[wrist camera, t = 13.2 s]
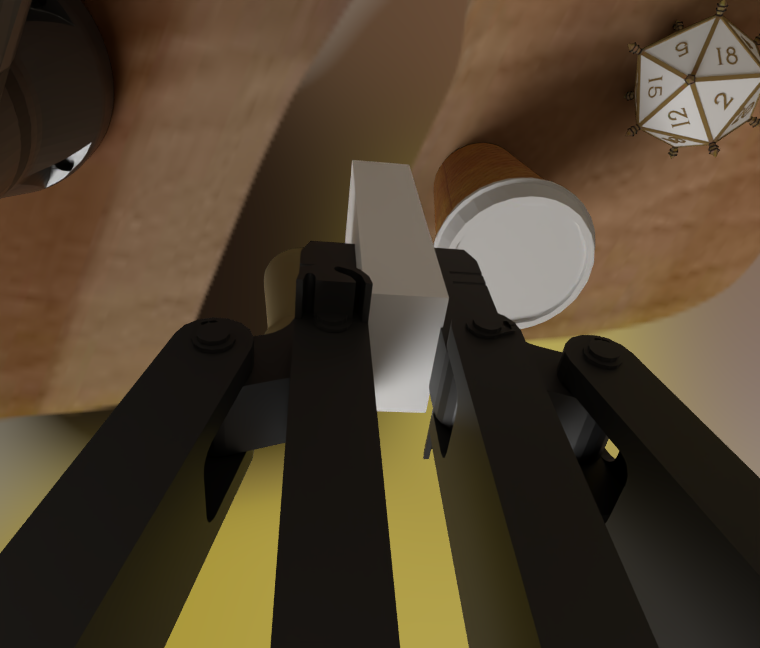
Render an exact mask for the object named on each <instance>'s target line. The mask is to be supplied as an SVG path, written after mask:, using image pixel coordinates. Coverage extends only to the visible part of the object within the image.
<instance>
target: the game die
mask: <svg viewBox="0 0 760 648" xmlns="http://www.w3.org/2000/svg"><path fill="white" fill-rule="evenodd" d="M717 6H718V7H717V8H716V11H717V13H716V15H713V16H711V17H709V18H707V19H704V20H702V21H700V22H697V23H695V24H693V25H690V26H688V27H686V28H683V25H682V24H683V22H680V21H678V20H676V22H675V25H674V26H673V27H674V28H675V29H674V30H675V31H677V32H675V33H673V34H671V35H669V36H667V37H665V38H663V39H661V40H659V41H657V42H655V43H653V44H651V45H649V46H647V47H645V48H643V49H641V48H640V47H639V45H637V44H636V43H634V44H628V47H629V50H630V51H629V52H633V54H634V53H636V54H638V61H637V71H636V80H635V90H634V92H632V91H631V92H627V94H626V95H625V96H624V98H625V99H627V101H628V100H632V99H634V102H635V115H636V126H632V127H631V128H629V129H628V131H627V133H626V136H634V134H635V133H636V134H637V131H638V130H642V131H644V132H646V133H648V134H650V135H652V136H654V137H655V138H657V139H659V140H661V141H663V142H665V143H667V144H669V145H671V146H672V148H671V149H670V152H669V153H668V154H669V155H670V157H671V159H672V158H673V157H675V156H677V152H678V149H677V148H678V147H691V146H705V145H709V146H710V147H709V151H710V152H709V154H711V155H713V156H715V157H716V156H717V154H718V152H719V151H720V149H718V147H719V146H717V145H716V142H718V141H719V140H721V139H722V138H724V137H725V136H726V135H728V134H729V133H731V132H732V131H734V130H735V129H737V128H738V127H740V126H741V125H743V124H744V123H746V122H749V124H750V125H752V126H753V127H756V126H760V119H757V117H752V114H753V112H754V109H755V107H756V104H757V102H758V100H759V97H760V52H759V50H758V47H757V45H760V34H759V36H758V37H756V38H755V40H754V41H753V40H752V39H751V38H749V37H748V36H747V35H746V34H745V33H743V32H742V31H741V30H740V29H738V28H737V27H736V26H735V25H734V24H732V23H731V22H730V21H729V20H728V19H726V18H725V17H724V16H723V13H724V12H725V11H726V10H727V9H726V7H727V6H728V5H727V2H726V0H722V1H721V2H720V3H717Z"/></svg>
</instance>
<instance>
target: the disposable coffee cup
mask: <svg viewBox="0 0 760 648" xmlns="http://www.w3.org/2000/svg"><path fill="white" fill-rule="evenodd" d="M434 204H435V229H436V239H435V242H434V245H433V246H434V248H447V249H462V250H465V251H466V252H467V253H468V254H469V255H471V256H472V257H473V258H474V259H475V260H476V261H477V263H478V265H479V268H480V270H481V272H482V276H483V277H484V280H485V282H486V286H487V287H488V290H489V292H490V295H491V297H492V300H493V302H494V305H495V307H496V310H497V312H498V313H499V314H501V315H504V316H506V317H507V318H509V319H510V320H512V321H513V322H515V323H516V325H517V326H518V327H519V329H523V328H527V327H531V326H534V325H537V324H539V323H542V322H545V321H547V320H548V319H550V318H552V317H553V316H555V315H557V314H559V313H560V312H562V311H563V310H564V309H565V308H566V307H567V306H568V305H569V304H570V303H572V302H573V301H574V300H575V299H576V298H577V296H578V295H579V293H580V292H581V290H582V289H583V287H584V286H585V284H586V283H587V281H588V278H589V275H590V272H591V269H592V266H593V263H594V250H595V229H594V226H593V222H592V219H591V216H590V214H589V213H588V211H587V209H586V207H585V206H584V204H583V203H582V202H581V201H580V200H579V199H578V198H577V197H576V196H575V195H574V194H573V193H571V192H570V191H568V190H567V189H566V188H564V187H562V186H560V185H558V184H556V183H554V182H552V181H547V180H544V179H542V178H541V177H540V176H538V175H537V174H536V173H535V172H533V171H532V170H531V169H529V168H528V167H527V166H525V165H524V164H523V163H521V162H520V161H519V160H518V159H516V158H515V157H514V156H512V155H511V154H510V153H509V152H508V151H506V150H505V149H503V148H502V147H499V146H497V145H494V144H489V143H475V144H471V145H467V146H465V147H463V148H460V149H458V150H457V151H455V152H454V153H452V154H451V155H450V156H449V157H448V158H447V159H446V160H445V161H444V162H443V164H442V165H441V167H440V168H439V170H438V172H437V174H436V178H435V182H434Z"/></svg>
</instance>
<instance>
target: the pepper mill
mask: <svg viewBox="0 0 760 648" xmlns="http://www.w3.org/2000/svg"><path fill="white" fill-rule="evenodd" d="M303 248H304V247H303ZM303 248H294V249H289V250H287V251H284V252H282V253H280V254H278V255H277V256H276V257H275V258H274V259H273V260H271V262H270V263H269V265H268V267H267V269H266V271H265V277H264V289H265V300H266V310H267V322H268V329H267V331H266V332H265V334H269V333H273V332H276V331H278V330H281V329H283V328H284V327H286V326H287V325H289V324H290V323H291V321H292V320H293V319H294V317H295V297H296V279H297V276H298V274H299V267H300V254H301V250H302V249H303ZM265 334H264V335H265Z"/></svg>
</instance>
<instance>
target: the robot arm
mask: <svg viewBox="0 0 760 648" xmlns="http://www.w3.org/2000/svg"><path fill="white" fill-rule="evenodd" d="M113 101H114V84H113V75H112V69H111V64H110V60H109V56H108V53H107V50H106V47H105V44H104V41H103V39H102V37H101V34H100V32H99V30H98V28H97V26H96V24H95V22H94V20H93V18H92V17H91V15H90V13H89V12H88V10H87V9H86V7H85V6H84V4H83V3H82V1H81V0H0V198H5V197H10V196H15V195H21V194H26V193H31V192H35V191H39V190H42V189H45V188H48V187H50V186H53V185H55V184H57V183H59V182H60V181H62V180H64V179H66V178H67V177H69V176H70V175H71V174H73V173H74V172H75V171H76V170H77V169H78V168H80V167H81V166H82V165H83V163H84V162H85V161H86V160H87V159H88V158H89V157H90V156H91V155H92V154H93V152H94V151H95V150H96V149H97V147H98V146H99V144H100V143H101V141H102V139H103V138H104V136H105V133H106V131H107V129H108V126H109V123H110V119H111V115H112V110H113ZM429 394H430V396H431V401H432V405H433V411H432V416H431V421H430V425H429V430H428V435H427V439H426V444H425V449H424V457H423V458H424V459H429V456H430V451H431V449H433V454H434V460H435V465H436V470H437V476H438V481H439V487H440V492H441V498H442V503H443V509H444V514H445V519H446V525H447V530H448V536H449V541H450V547H451V552H452V557H453V563H454V568H455V574H456V579H457V585H458V590H459V595H460V601H461V606H462V612H463V617H464V622H465V628H466V633H467V639H468V644H469V648H760V478H759V477H758V476H757V475H756V474H755V473H754V472H753V471H752V470H751V469H750V468H749V467H748V466H747V465H746V464H745V463H744V462H743V461H742V460H741V459H740V458H739V457H738V456H737V455H736V454H735V453H733V451H732V450H730V449H729V448H728V447H727V446H726V445H725V444H724V443H723V442H722V441H721V440H720V439H719V438H718V437H717V436H716V435H715V434H714V433H713V432H712V431H711V430H710V429H709V428H708V427H707V426H706V425H705V424H704V423H703V422H702V421H701V420H700V419H699V418H698V417H697V416H696V415H695V414H694V413H693V412H692V411H691V410H690V409H689V408H688V407H687V406H686V405H684V403H683V402H681V400H679V398H678V397H677V396H675V395H674V394H673V393H672V392H671V391H670V390H669V389H668V388H667V387H666V386H665V385H664V384H663V383H662V382H661V381H660V380H659V379H658V378H657V377H656V376H655V375H654V374H653V373H652V372H651V371H650V370H649V369H648V368H647V367H646V366H645V365H644V364H642V362H641V361H640V360H639V359H638V358H637V357H636V356H635V355H634V354H633V353H632V352H630V351H629V350H628V349H626V348H625V347H624V346H622V345H621V344H618V343H616V342H614V341H612V340H610V339H608V338H605V337H600V336H595V335H580V336H576V337H573V338H571V339H570V340H569V341H568V342H567V343H566V344H565V347H564V349H563V352H558V351H554V350H550V349H546V348H543V347H539V346H536V345H533V344H529V343H527V342H526V341H525V339H524V337H523V334H522V332H521V330H520V329H519V327H518V326H517V325H516V323H515V322H513V321H512V320H510V319H509V318H507V317H506V316H504V315H501V314H499V313H498V312H497V310H496V307H495V305H494V302H493V300H492V297H491V295H490V292H489V290H488V287H487V286H486V282H485V280H484V277H483V276H482V272H481V270H480V268H479V265H478V263H477V261H476V260H475V259H474V258H473V257H472V256H471V255H469V254H468V253H467V252H466V251H465V250H462V249H447V248H434V246H433V243H432V239H431V236H430V233H429V229H428V226H427V223H426V219H425V216H424V213H423V209H422V206H421V203H420V199H419V196H418V193H417V189H416V186H415V183H414V179H413V176H412V172H411V169H410V166H409V165H406V164H394V163H382V162H370V161H358V160H352V171H351V182H350V194H349V205H348V216H347V228H346V238H345V243H334V242H318V241H310V242H309V243H308V244H307V245H306V246H305V247H304V248H303V249H302V250H301V254H300V267H299V274H298V276H297V279H296V297H295V317H294V319H293V320H292V321H291V323H290V324H289V325H287V326H286V327H284V328H283V329H281V330H278V331H276V332H273V333H269V334H265V335H259V336H253V335H252V333H251V331H250V329H248V328H247V327H246V326H244V325H243V324H242V323H240V322H237V321H234V320H230V319H226V318H207V319H199V320H196V321H193V322H191V323H188V324H186V325H184V326H183V327H182V328H180V329H179V330H178V331H177V332H176V333H175V334H174V335H173V336H172V338H171V339H170V340H169V341H168V343H167V344H166V345H165V346H164V348H163V349H162V350H161V352H160V353H159V354H158V355H157V357H156V358H155V359H154V360H153V362H152V363H151V364H150V365H149V367H148V368H147V369H146V370H145V372H144V373H143V374H142V375H141V377H140V378H139V379H138V380H137V382H136V383H135V384H134V386H133V387H132V388H131V389H130V391H129V392H128V393H127V394H126V396H125V397H124V398H123V399H122V401H121V402H120V403H119V404H118V406H117V407H116V408H115V409H114V411H113V412H112V413H111V415H110V416H109V417H108V418H107V420H106V421H105V422H104V423H103V425H102V426H101V427H100V428H99V430H98V431H97V432H96V433H95V435H94V436H93V437H92V438H91V440H90V441H89V442H88V443H87V445H86V446H85V447H84V448H83V450H82V451H81V453H80V454H79V455H78V456H77V457H76V459H75V460H74V461H73V462H72V464H71V465H70V466H69V467H68V469H67V470H66V471H65V472H64V474H63V475H62V476H61V477H60V479H59V480H58V481H57V483H56V484H55V485H54V486H53V488H52V489H51V490H50V491H49V493H48V494H47V495H46V496H45V498H44V499H43V500H42V501H41V503H40V504H39V505H38V506H37V508H36V509H35V510H34V511H33V513H32V514H31V515H30V517H29V518H28V519H27V520H26V522H25V523H24V524H23V525H22V527H21V528H20V529H19V530H18V532H17V533H16V534H15V535H14V537H13V538H12V539H11V541H10V542H9V543H8V544H7V545H6V547H5V548H4V549H3V551H2V552H1V553H0V648H164V647H165V645H166V642H167V640H168V638H169V636H170V634H171V632H172V630H173V628H174V626H175V623H176V621H177V619H178V617H179V615H180V613H181V611H182V608H183V606H184V604H185V602H186V600H187V598H188V596H189V593H190V591H191V589H192V587H193V585H194V583H195V580H196V578H197V576H198V574H199V572H200V570H201V568H202V565H203V563H204V561H205V559H206V557H207V555H208V553H209V550H210V548H211V546H212V544H213V542H214V540H215V538H216V535H217V533H218V531H219V529H220V527H221V525H222V523H223V520H224V519H225V516H226V514H227V512H228V510H229V508H230V506H231V503H232V501H233V499H234V497H235V495H236V493H237V491H238V488H239V486H240V484H241V482H242V480H243V478H244V476H245V474H246V471H247V469H248V467H249V465H250V463H251V461H252V458H253V452H254V449H259V448H263V447H268V446H272V445H277V444H281V443H285V442H286V443H285V457H284V471H283V484H282V498H281V512H280V525H279V539H278V553H277V566H276V580H275V595H274V607H273V622H272V635H271V648H400V642H399V631H398V621H397V611H396V601H395V590H394V581H393V570H392V560H391V550H390V540H389V529H388V520H387V509H386V499H385V490H384V479H383V469H382V458H381V448H380V438H379V428H378V418H377V411H390V412H418V413H425V412H426V408H427V403H428V399H429ZM608 439H610V440H611V441H612V442H613V444H614V445H615V446H616V447H617V448H618V450H619V453H618V456H617V457H616V459H614V458H613V457H612V456H611V455H610V454H609V453H608V452H607V450H606V449H605V446H606V444H607V441H608Z"/></svg>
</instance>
